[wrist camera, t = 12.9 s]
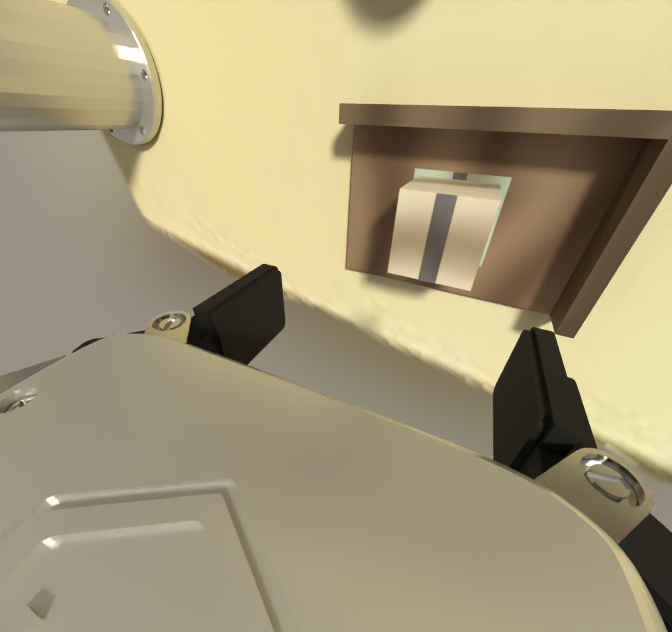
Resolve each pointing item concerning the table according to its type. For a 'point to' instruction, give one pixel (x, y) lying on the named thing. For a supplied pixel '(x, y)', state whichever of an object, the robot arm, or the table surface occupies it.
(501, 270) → the wooden tray
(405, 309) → the table surface
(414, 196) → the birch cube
